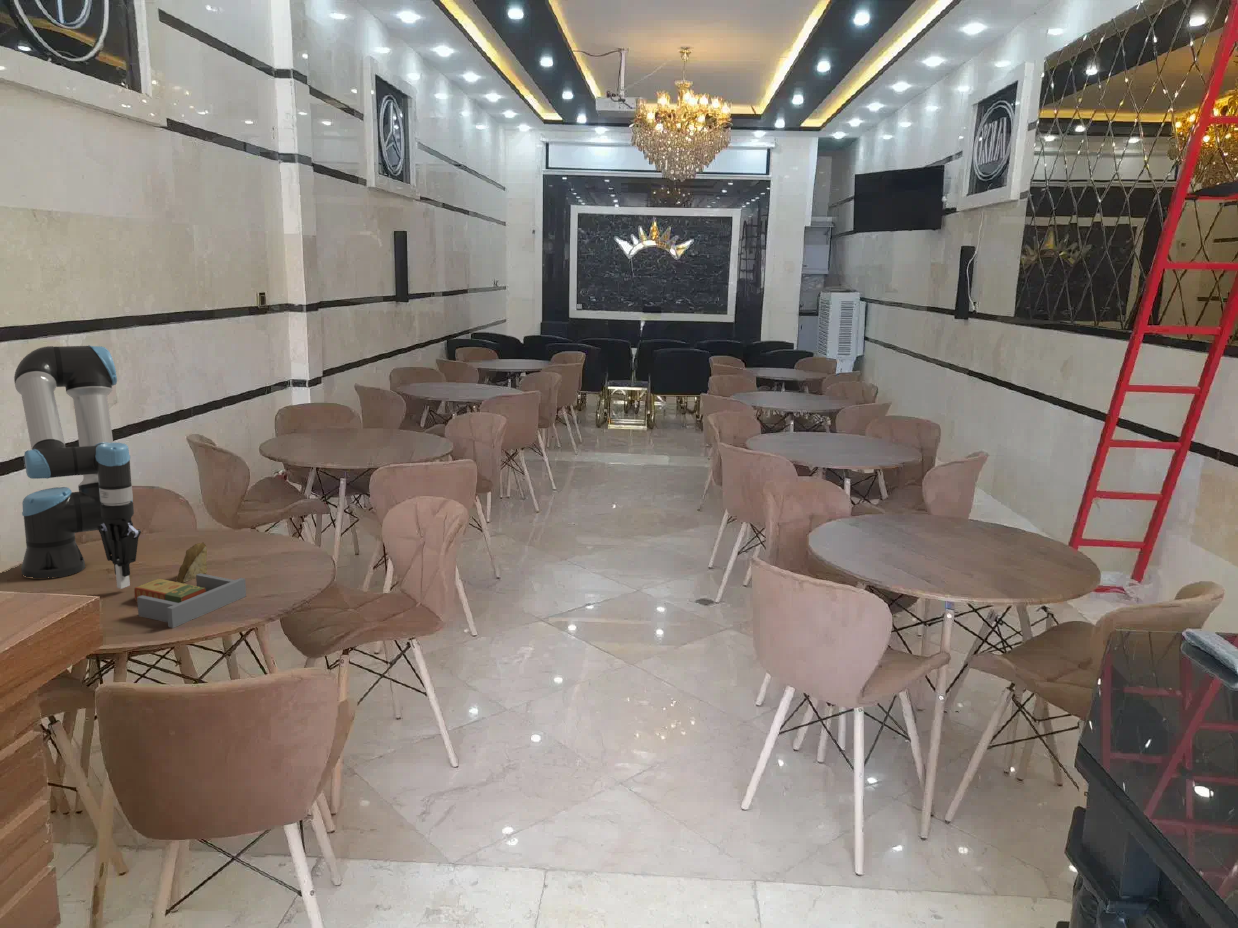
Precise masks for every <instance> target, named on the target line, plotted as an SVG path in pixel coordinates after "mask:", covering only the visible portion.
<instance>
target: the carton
mask: <svg viewBox="0 0 1238 928" xmlns="http://www.w3.org/2000/svg"><path fill="white" fill-rule="evenodd" d="M133 590H134V592H133V593H134V600H135V601H136V602H137V597H139V596H142V595H143V596H148V597H153V598H157V599H162V600H167V601H172V602H176V603H180V602H182V601H185V600H187V599H190V598H192V597H195V596H197V595H200V594H202V593H205V592H206V590H205V588H203V587H198V586H197V585H193V584H187V583H180V582H176V581H172V580H167V579H163V578H157V579H154V580H151V581H149V582H145V583H143V584H140V585H138V586H136V587H134V589H133Z"/></svg>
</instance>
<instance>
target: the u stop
mask: <svg viewBox="0 0 1238 928" xmlns="http://www.w3.org/2000/svg"><path fill="white" fill-rule="evenodd" d="M195 580H196V581H195V582H196V586H198V587H203V588H205V590H206V592H205V593H202V594H200V595H197V596H195V597H192V598H190V599H187V600H185V601H182V602H180V603H176V602H172V601H167V600H162V599H157V598H153V597H148V596H143V595H142V596H139V597H137V601H136V602H137V613H138V617H142V618H146V619H150V620H156V621H159V622H164V623H167V626H168V628H172V629H174V628H176V627H178V626H181V625H183V624H186V623H188V622H191V621H192V619H193V620H195V619H197V618H199V617H202V616H204V615H207V614H209V613H211V612H213V611H216V610H218V609H220V608H222V607H225V606H227V605H230V604H231V603H234V602H236V601H239V600H241V599H243V598H245V597H247V588H246V587H247V586H246V578H243V577H240V578H236V579H231V578H227V577H220V576H216V575H210V574H207V573H205V574H201V573H200V574H197V575H196V578H195Z"/></svg>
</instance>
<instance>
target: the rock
mask: <svg viewBox="0 0 1238 928" xmlns="http://www.w3.org/2000/svg"><path fill="white" fill-rule="evenodd" d="M207 557H208V548H207V545H206V543H204V542H203V541H202V542H201V543H200V542H197V543H195V544H193V545H192V546H191V547H190V548H188V549H186V550H185V556H184V558H183V562H182V564H181V565H180V567H179V569H178V574H177V576H176V579H175V582H178V583H183V584H185V583H186V582H189V581H191V580H194V579H196V575H197V574H200V573H201V574H207V573H208V567H207V559H208V558H207Z"/></svg>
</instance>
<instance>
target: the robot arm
mask: <svg viewBox="0 0 1238 928" xmlns="http://www.w3.org/2000/svg"><path fill="white" fill-rule="evenodd" d="M113 359H114V358H113V356H112V353H111V352H110V350H108V348H106V347H105V346H100V345H99V346H98V345H97V346H96V345H89V344H88V345H71V346H70V345H69V346H66V345H65V346H52V345H51V346H49V345H48V346H42V347H39V348H36V349H34V350H32V351H31V352H28V353H27V354H26V356H24V357H23V358H22V359H21V360H20V362H19V364H18V365H17V366H16V369H15V372H14V377H13V378H14V379H13V381H14V387H15V389H16V392H17V393H19V394H20V395H21V400H22V401H21V402H22V405H23V410H24V416H25V417H24V418H25V423H26V426H27V431H28V432H27V433H28V438H29V442H30V447H31V449H28V450H26V451H24V454H23V455H24V466H25V472H26V476H27V477H28V478H29V479H33V480H35V479H37V480H38V479H47V480H48V479H51V478H53V479H54V478H62V477H71V476H72V477H73V476H82V477H83V479H82V481H81V482H80V483H79V484H78V487H77V488H78V491H74V492H72V490H71V488H70V487H67V486H62V487H57V486H55V487H50V488H45V489H42V490H41V489H40V490H37V491H34V492H32V493H30V494H27V495H26V496H25V497H23V500H22V503H21V504H22V512H21V515H22V516H23V522H24V525H23V526H24V532H25V533H24V535H25V545H26V549H25V552H24V555H23V556H24V557H23V561H22V564H21V566H20V567H21V569H20V570H21V575H22V574H23V575H24V576H26V577H33V578H48V577H49V578H52V577H59V578H64V577H69V576H72V575H75V574H78V573H80V572H83V570H84V569H85V568H86V563H85V558H84V556H83V554H82V552H81V550H80V549H79V546H78V544H77V542H76V534H77V533H84V532H85V533H86V532H93V531H94V532H95V531H98V532H99V535H100V537H101V541H102V546H103V550H104V553H105V556H106V560H107V561H110V562H112V564H113V568H114V574H115V578H116V579H115V580H116V588H117V589H120V590H121V589H124V588H127V587H130V586H131V583H130V582H131V581H130V575H131V569H130V568H131V567H130V564H131V563H134V562H136V560H137V552H138V545H139V537H140V535H141V534H142V531H141V529H139V528H138V529H136V527H134V522H133V521H132V517H133V516H134V514H135V510H134V502H133V500H134V495H133V485H132V484H133V483H132V473H131V455H130V450H129V445H127V443H123V442H114V438H113V430H112V423H111V415H110V407H109V401H108V397H109V395H110V393H112V391H113V386H115V385H117V382H118V378H117V377H118V376H117V371H116V370H117V369H116V365H115V362H114V360H113ZM62 387H63V388H65V394H66V395H68V396H69V397H71V398H72V401H73V407H74V416H75V421H76V430H77V431H76V432H77V438H78V446H71V447H69V446H68V447H66V443H65V438H64V433H63V429H62V424H61V419H60V414H59V410H58V406H57V401H56V397H55V390H56V388H62ZM77 572H78V573H77ZM74 573H75V574H74ZM71 574H72V575H71ZM68 575H69V576H68ZM52 579H53V578H52Z"/></svg>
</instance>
